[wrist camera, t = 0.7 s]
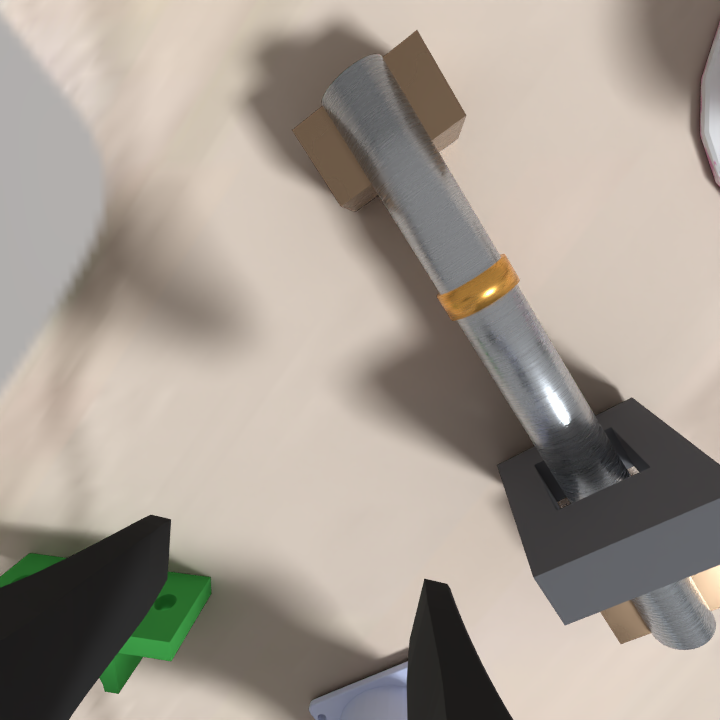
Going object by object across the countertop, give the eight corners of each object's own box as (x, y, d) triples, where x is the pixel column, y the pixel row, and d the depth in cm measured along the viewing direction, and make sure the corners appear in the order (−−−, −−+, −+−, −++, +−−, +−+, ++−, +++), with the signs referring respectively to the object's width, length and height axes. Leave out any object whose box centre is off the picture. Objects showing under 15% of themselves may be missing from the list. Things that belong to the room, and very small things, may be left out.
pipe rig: (692, 540, 21) (769, 626, 17) (590, 582, 23) (635, 673, 18) (418, 69, 18) (416, 9, 13) (315, 149, 19) (280, 120, 14)
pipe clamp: (42, 602, 28) (-30, 669, 24) (33, 550, 27) (-43, 609, 23) (215, 629, 27) (173, 706, 22) (212, 575, 26) (168, 644, 21)
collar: (653, 434, 20) (778, 542, 13) (518, 499, 22) (564, 625, 15) (631, 397, 20) (747, 486, 13) (496, 465, 21) (533, 577, 14)
